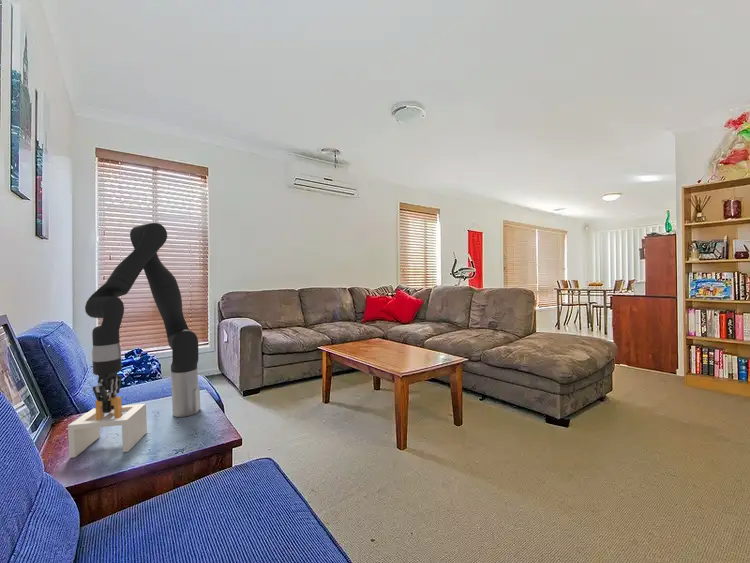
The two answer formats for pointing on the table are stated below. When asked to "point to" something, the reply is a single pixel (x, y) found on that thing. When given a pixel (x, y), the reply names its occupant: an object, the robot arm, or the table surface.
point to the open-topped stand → (89, 428)
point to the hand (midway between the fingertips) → (109, 410)
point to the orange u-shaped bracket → (114, 401)
